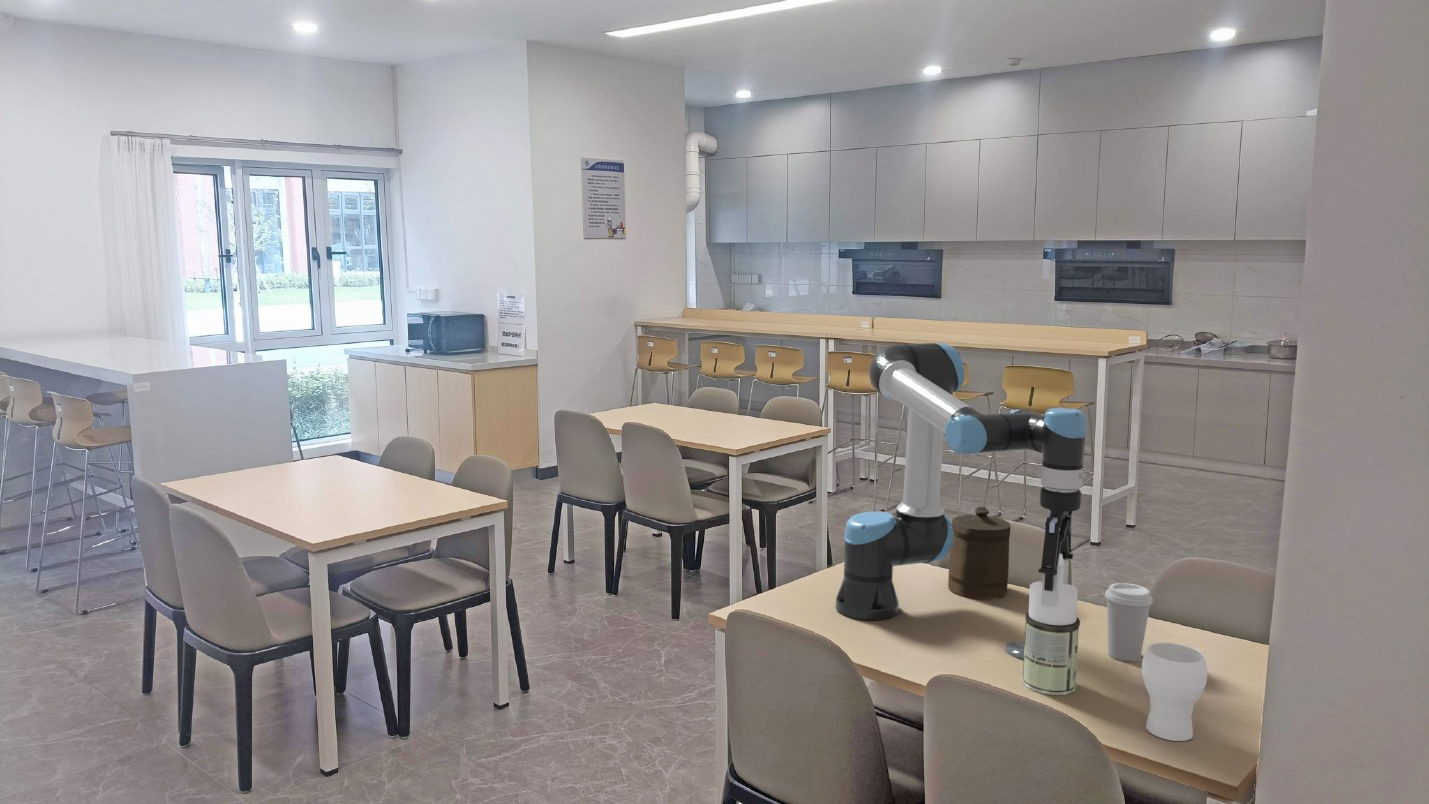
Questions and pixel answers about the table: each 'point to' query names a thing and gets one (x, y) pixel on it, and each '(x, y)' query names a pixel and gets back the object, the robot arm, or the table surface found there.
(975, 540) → the wooden container
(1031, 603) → the base with upright slab
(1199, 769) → the table surface
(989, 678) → the table surface
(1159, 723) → the cup
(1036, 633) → the coffee can
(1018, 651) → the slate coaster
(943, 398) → the robot arm
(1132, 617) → the coffee cup
